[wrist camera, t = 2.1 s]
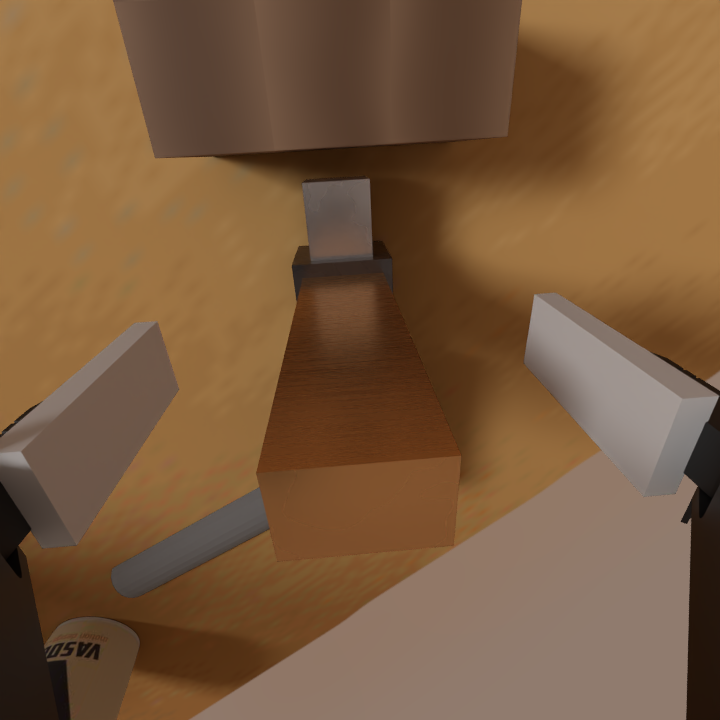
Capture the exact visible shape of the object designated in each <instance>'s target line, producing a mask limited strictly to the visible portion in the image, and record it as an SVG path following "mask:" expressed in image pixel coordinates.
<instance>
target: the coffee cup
mask: <svg viewBox="0 0 720 720" xmlns="http://www.w3.org/2000/svg"><path fill="white" fill-rule="evenodd" d="M139 646H140V640H139V637H138V635H137V634H136V633H135V632H134V631H133V630H132V629H131V628H129V627H128V626H126V625H124V624H122V623H120V622H117V621H114V620H111V619H106V618H101V617H80V618H74V619H71V620H68V621H66V622H64V623H62V624H60V625H59V626H58V627H57V628H56V629H55V631H54V632H53V633H52V635H51V636H50V638H49V639H48V641H47V642H46V643H45V645H44V648H45V653H46V658H47V663H48V668H49V673H50V677H51V682H52V687H53V692H54V697H55V702H56V707H57V712H58V717H59V720H116V719H117V716H118V713H119V710H120V707H121V704H122V701H123V698H124V695H125V691H126V688H127V685H128V682H129V679H130V676H131V673H132V670H133V667H134V663H135V660H136V657H137V653H138V650H139Z"/></svg>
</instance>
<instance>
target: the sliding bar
mask: <svg viewBox="0 0 720 720" xmlns="http://www.w3.org/2000/svg"><path fill="white" fill-rule="evenodd" d="M302 187H303V196H304V205H305V214H306V223H307V231H308V240H309V246H299V247H298V250H297V253H296V255H295V258H294V261H293V264H292V271H293V278H294V285H295V293H296V300H297V304H296V308H295V313H294V317H293V321H292V325H291V329H290V334H289V338H288V342H287V346H286V350H285V355H284V359H283V363H282V367H281V371H280V376H279V380H278V384H277V388H276V392H275V397H274V401H273V405H272V409H271V413H270V418H269V422H268V426H267V430H266V434H265V439H264V443H263V447H262V451H261V455H260V460H259V464H258V468H257V472H256V474H257V478H258V483H259V487H260V491H261V495H262V499H263V503H264V508H265V512H266V516H267V520H268V524H269V529H270V533H271V537H272V541H273V545H274V550H275V554H276V558H277V562H280V561H291V560H302V559H313V558H324V557H335V556H346V555H357V554H367V553H378V552H389V551H400V550H411V549H422V548H433V547H444V546H454V536H455V524H456V513H457V501H458V490H459V478H460V467H461V453H460V451H459V449H458V446H457V444H456V442H455V439H454V437H453V435H452V432H451V430H450V428H449V425H448V423H447V421H446V418H445V416H444V414H443V411H442V409H441V407H440V404H439V402H438V399H437V397H436V395H435V392H434V390H433V388H432V385H431V383H430V381H429V378H428V376H427V374H426V371H425V369H424V367H423V364H422V362H421V360H420V357H419V355H418V353H417V350H416V348H415V346H414V343H413V341H412V338H411V336H410V334H409V331H408V329H407V327H406V324H405V322H404V320H403V317H402V315H401V313H400V310H399V308H398V306H397V303H396V301H395V299H394V296H393V282H392V257H391V256H390V254H389V252H388V250H387V249H386V247H385V245H384V243H383V241H372V224H371V199H370V179H369V178H368V177H366V176H365V175H364V176H349V177H333V178H317V179H306V180H305V181H304V182H303V183H302Z"/></svg>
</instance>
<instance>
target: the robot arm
mask: <svg viewBox="0 0 720 720" xmlns="http://www.w3.org/2000/svg"><path fill="white" fill-rule="evenodd" d="M524 364H525V365H526V366H527V368H528V369H529V370H530V371H531V372H532V373H533V374H534V375H535V376H536V378H537V379H538V380H539V381H540V382H541V383H542V384H543V385H544V386H545V388H546V389H547V390H548V391H549V392H550V393H551V394H552V395H553V396H554V398H555V399H556V400H557V401H558V402H559V403H560V404H561V405H562V407H563V408H564V409H565V410H566V411H567V412H568V413H569V414H570V415H571V417H572V418H573V419H574V420H575V421H576V422H577V423H578V424H579V425H580V427H581V428H582V429H583V430H584V431H585V432H586V433H587V434H588V435H589V437H590V438H591V439H592V440H593V441H594V442H595V443H596V444H597V445H598V447H599V448H600V449H601V450H602V451H603V452H604V453H605V454H606V455H607V457H608V458H609V459H610V460H611V461H612V462H613V463H614V464H615V465H616V467H617V468H618V469H619V470H620V471H621V472H622V473H623V474H624V475H625V477H626V478H627V479H628V480H629V481H630V482H631V483H632V484H633V485H634V487H635V488H636V489H637V490H638V491H639V492H640V493H641V494H642V496H644V497H646V496H658V495H670V494H676V492H677V489H678V487H679V485H680V483H681V480H682V478H683V476H684V474H685V475H687V476H688V477H689V478H690V479H691V480H692V481H693V482H694V483H695V484H696V485H697V486H698V487H697V489H696V491H695V493H694V495H693V497H692V499H691V502H690V504H689V506H688V508H687V510H686V512H685V514H684V516H683V518H682V520H681V522H683V523H686V524H687V523H688V521H689V519H690V518H691V555H690V556H691V557H690V594H689V634H688V635H689V636H688V674H687V713H686V720H720V391H719V390H717V389H716V388H714V387H713V386H711V385H710V384H708V383H706V382H705V381H703V380H701V379H700V378H696V376H695V375H693V374H692V373H690V372H689V371H687V370H683V368H682V367H680V366H679V365H677V364H676V363H674V362H672V361H671V360H669V359H667V358H665V357H662V356H660V355H657V354H654V353H652V352H649V351H647V350H646V349H644V348H643V347H641V346H640V345H638V344H636V343H635V342H633V341H632V340H630V339H628V338H627V337H625V336H624V335H622V334H621V333H619V332H617V331H616V330H614V329H613V328H611V327H609V326H608V325H606V324H605V323H603V322H602V321H600V320H598V319H597V318H595V317H594V316H592V315H591V314H589V313H587V312H586V311H584V310H583V309H581V308H579V307H578V306H576V305H575V304H573V303H572V302H570V301H568V300H567V299H565V298H564V297H562V296H560V295H559V294H557V293H545V294H535V295H534V301H533V307H532V313H531V320H530V326H529V332H528V338H527V344H526V351H525V357H524ZM178 390H179V388H178V384H177V381H176V378H175V375H174V372H173V369H172V366H171V363H170V359H169V356H168V353H167V350H166V347H165V344H164V341H163V337H162V334H161V331H160V328H159V325H158V322H157V321H155V322H141V323H134V324H133V325H132V326H131V327H129V328H128V329H127V330H126V331H125V332H124V333H122V334H121V335H120V336H119V337H118V338H117V339H115V340H114V341H113V342H112V343H111V344H109V345H108V346H107V347H106V348H105V349H104V350H102V351H101V352H100V353H99V354H98V355H97V356H95V357H94V358H93V359H92V360H91V361H90V362H88V363H87V364H86V365H85V366H84V367H83V368H81V369H80V370H79V371H78V372H77V373H76V374H74V375H73V376H72V377H71V378H70V379H68V380H67V381H66V382H65V383H64V384H63V385H61V386H60V387H59V388H58V389H57V390H56V391H54V392H53V393H52V394H51V395H50V396H49V397H47V398H46V399H45V400H44V401H42V402H40V403H39V404H37V405H35V406H33V407H31V408H30V409H28V410H27V411H26V412H25V413H24V414H22V415H21V416H20V417H19V418H18V419H16V420H15V421H14V422H15V423H14V424H10V425H9V426H8V427H7V428H6V429H4V430H3V431H2V434H0V720H59V717H58V712H57V707H56V702H55V697H54V692H53V687H52V682H51V677H50V673H49V668H48V663H47V658H46V653H45V648H44V643H43V638H42V633H41V628H40V623H39V618H38V613H37V609H36V604H35V599H34V594H33V589H32V584H31V579H30V574H29V569H28V564H27V559H26V556H25V554H24V553H23V551H22V550H21V549H20V547H19V546H18V545H19V544H20V543H21V542H22V540H23V539H24V538H25V537H26V535H27V534H28V533H29V532H30V530H31V532H32V533H33V535H34V536H35V538H36V539H37V541H38V543H39V544H40V546H41V547H42V548H53V547H65V546H76V545H77V544H78V543H79V541H80V540H81V538H82V537H83V535H84V534H85V532H86V531H87V529H88V528H89V526H90V525H91V523H92V522H93V520H94V518H95V517H96V515H97V514H98V512H99V511H100V509H101V508H102V506H103V505H104V503H105V502H106V500H107V499H108V497H109V496H110V494H111V493H112V491H113V489H114V488H115V486H116V485H117V483H118V482H119V480H120V479H121V477H122V476H123V474H124V473H125V471H126V470H127V468H128V467H129V465H130V464H131V462H132V460H133V459H134V457H135V456H136V454H137V453H138V451H139V450H140V448H141V447H142V445H143V444H144V442H145V441H146V439H147V438H148V436H149V435H150V433H151V431H152V430H153V428H154V427H155V425H156V424H157V422H158V421H159V419H160V418H161V416H162V415H163V413H164V412H165V410H166V409H167V407H168V406H169V404H170V402H171V401H172V399H173V398H174V396H175V395H176V393H177V392H178Z"/></svg>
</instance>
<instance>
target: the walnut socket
mask: <svg viewBox="0 0 720 720" xmlns="http://www.w3.org/2000/svg"><path fill="white" fill-rule="evenodd" d="M113 2H114V5H115V9H116V13H117V17H118V20H119V24H120V28H121V32H122V35H123V39H124V43H125V47H126V50H127V54H128V58H129V62H130V66H131V69H132V73H133V77H134V81H135V84H136V88H137V92H138V96H139V99H140V103H141V107H142V111H143V114H144V118H145V122H146V126H147V129H148V133H149V137H150V141H151V144H152V148H153V152H154V156H155V158H176V157H212V156H228V155H244V154H261V153H277V152H293V151H310V150H326V149H342V148H359V147H375V146H391V145H408V144H424V143H440V142H455V141H466V140H476V139H487V138H497V137H508V127H509V118H510V108H511V99H512V89H513V80H514V71H515V61H516V52H517V42H518V33H519V24H520V14H521V5H522V0H113Z"/></svg>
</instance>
